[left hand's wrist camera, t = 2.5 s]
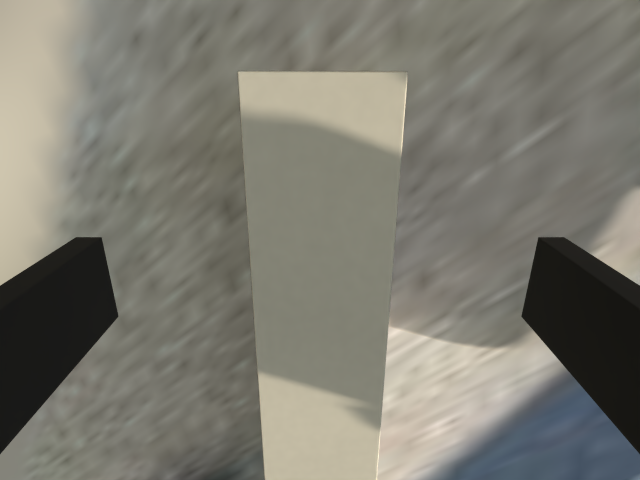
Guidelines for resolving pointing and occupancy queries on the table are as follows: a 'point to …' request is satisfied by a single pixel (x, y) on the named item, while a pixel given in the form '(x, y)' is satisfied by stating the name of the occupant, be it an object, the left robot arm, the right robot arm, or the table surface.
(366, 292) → the beam
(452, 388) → the table surface
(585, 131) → the table surface
